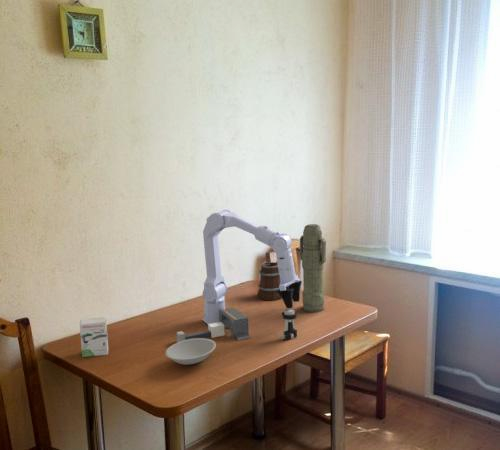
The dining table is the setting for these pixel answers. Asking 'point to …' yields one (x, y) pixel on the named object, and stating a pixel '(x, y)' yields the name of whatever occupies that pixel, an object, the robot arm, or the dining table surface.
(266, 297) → the mug
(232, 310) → the motor housing
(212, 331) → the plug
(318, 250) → the thermos
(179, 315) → the dining table surface
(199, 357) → the dish
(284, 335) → the push button
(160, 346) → the dining table surface
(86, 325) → the ink box
